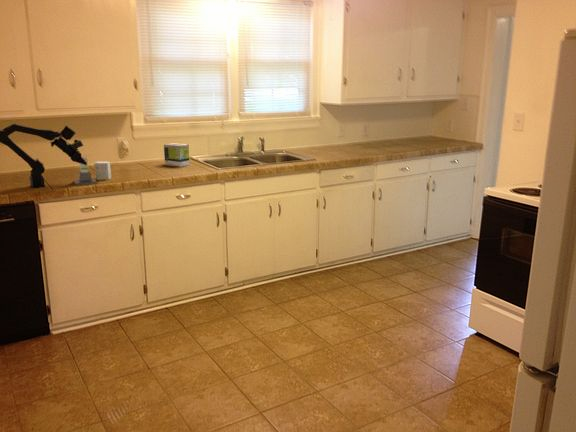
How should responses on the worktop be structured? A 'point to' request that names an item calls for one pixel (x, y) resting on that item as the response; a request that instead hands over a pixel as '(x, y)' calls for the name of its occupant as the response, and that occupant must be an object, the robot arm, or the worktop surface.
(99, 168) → the small box
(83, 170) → the white tall block
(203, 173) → the worktop surface
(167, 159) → the tea box
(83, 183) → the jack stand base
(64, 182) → the worktop surface
